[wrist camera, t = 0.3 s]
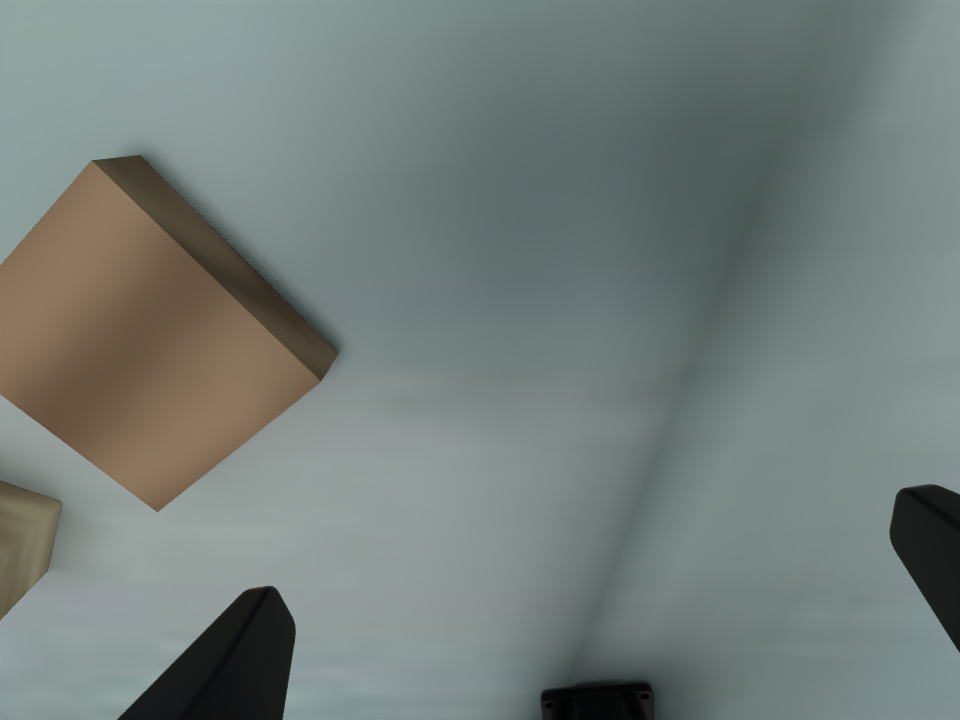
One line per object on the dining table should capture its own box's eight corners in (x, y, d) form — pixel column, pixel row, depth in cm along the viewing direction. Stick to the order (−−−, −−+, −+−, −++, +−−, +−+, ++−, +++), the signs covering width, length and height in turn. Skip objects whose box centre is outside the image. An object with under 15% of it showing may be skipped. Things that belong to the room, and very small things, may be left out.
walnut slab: (340, 349, 23) (321, 381, 20) (192, 469, 25) (157, 512, 23) (147, 154, 19) (91, 160, 17) (1, 315, 22) (-68, 343, 19)
